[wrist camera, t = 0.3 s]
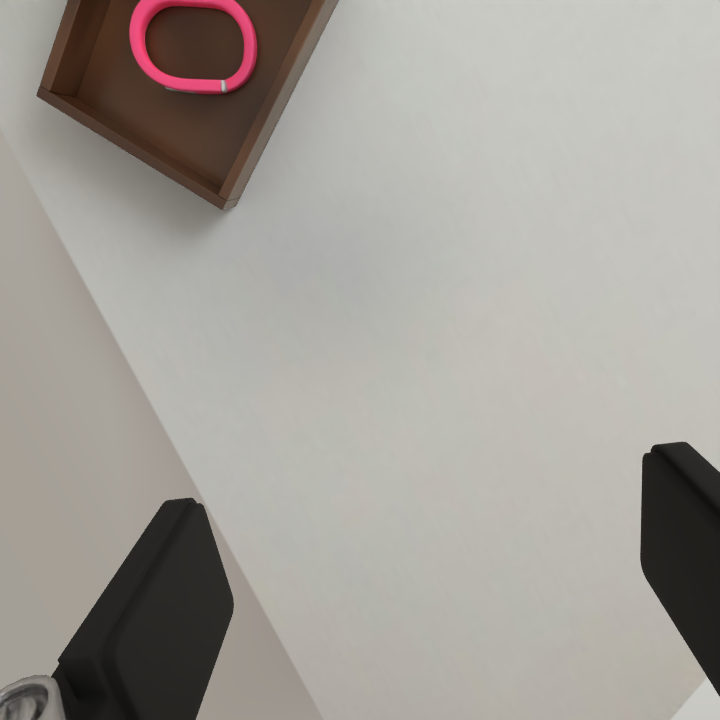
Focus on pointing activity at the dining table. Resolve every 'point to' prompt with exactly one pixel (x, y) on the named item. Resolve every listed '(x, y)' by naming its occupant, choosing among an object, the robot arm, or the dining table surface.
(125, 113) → the walnut tray
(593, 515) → the dining table surface
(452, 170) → the dining table surface
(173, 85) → the fitness band
